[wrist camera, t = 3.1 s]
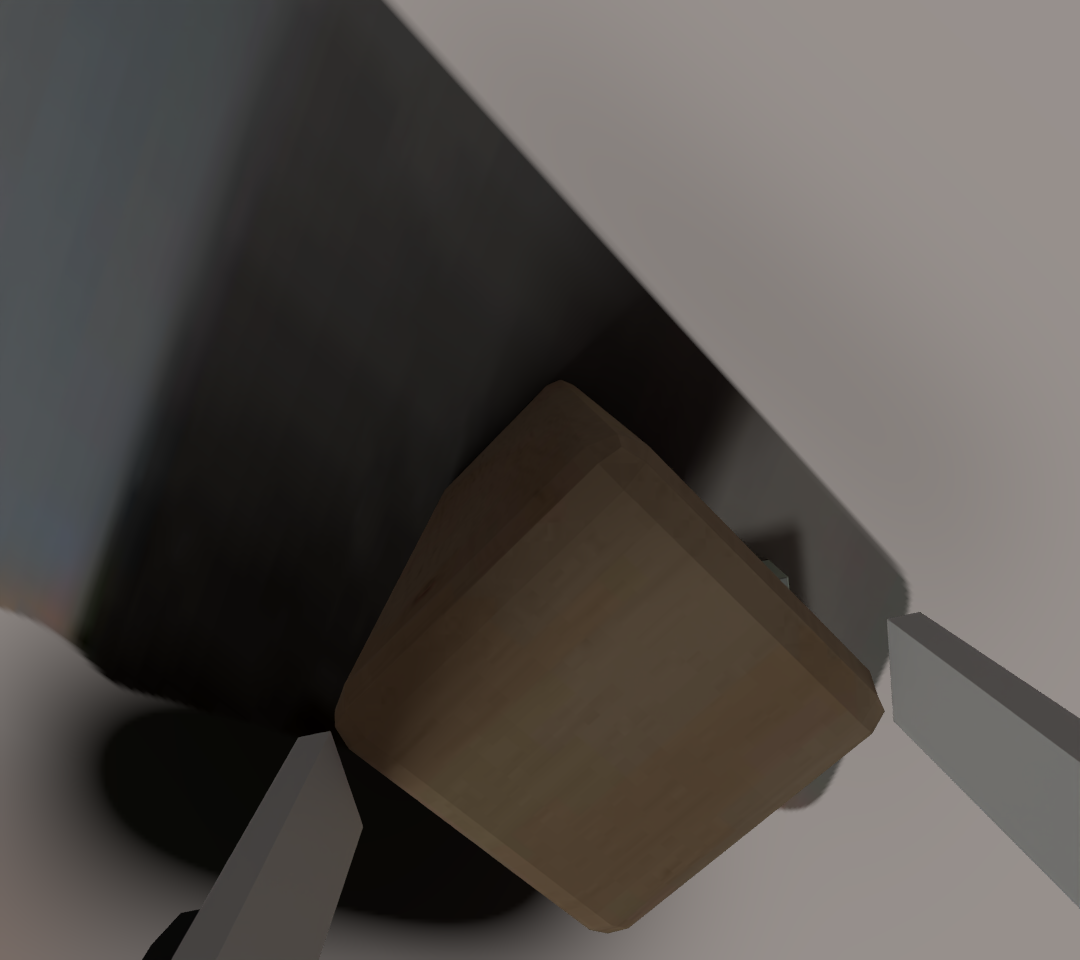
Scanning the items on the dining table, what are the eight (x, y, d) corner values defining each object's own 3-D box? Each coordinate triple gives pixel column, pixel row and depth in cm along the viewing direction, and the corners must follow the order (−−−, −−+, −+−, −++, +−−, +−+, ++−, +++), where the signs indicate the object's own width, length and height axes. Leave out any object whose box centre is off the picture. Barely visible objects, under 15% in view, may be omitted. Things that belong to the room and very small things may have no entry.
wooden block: (435, 498, 32) (301, 740, 13) (559, 370, 30) (626, 420, 11) (558, 608, 34) (609, 967, 14) (681, 494, 32) (921, 722, 13)
